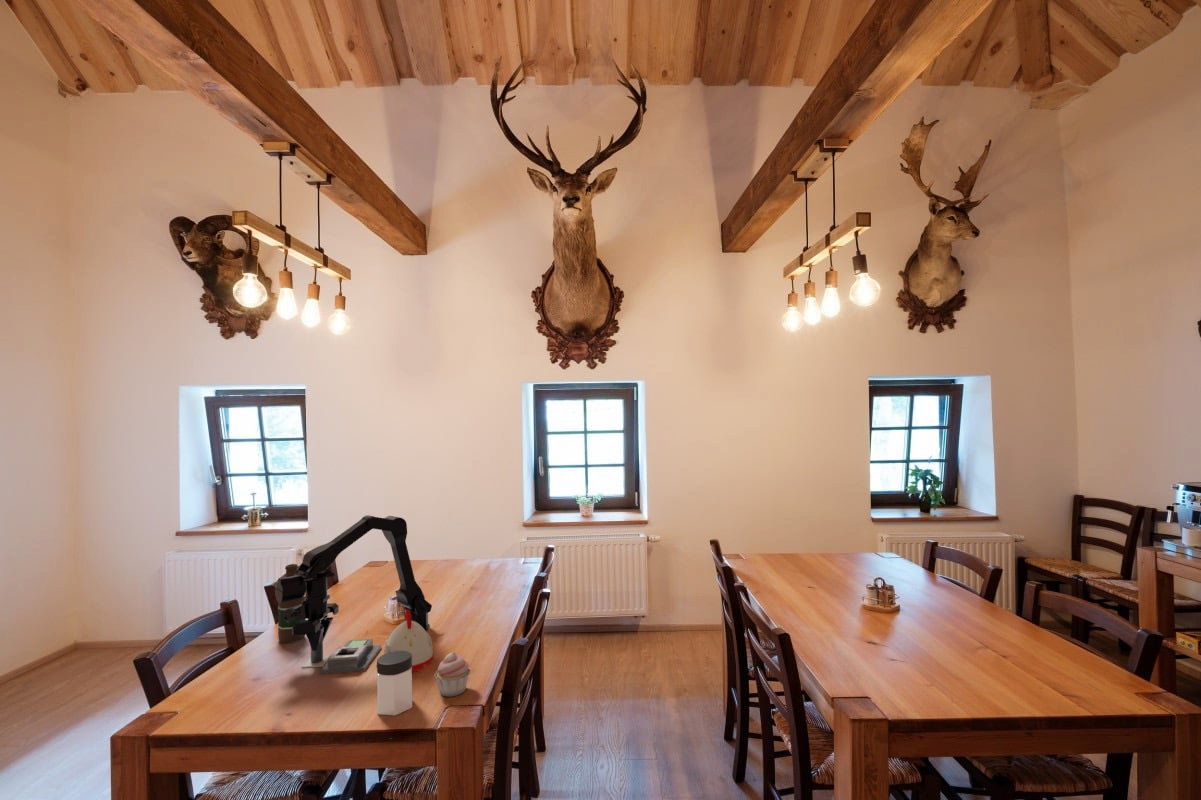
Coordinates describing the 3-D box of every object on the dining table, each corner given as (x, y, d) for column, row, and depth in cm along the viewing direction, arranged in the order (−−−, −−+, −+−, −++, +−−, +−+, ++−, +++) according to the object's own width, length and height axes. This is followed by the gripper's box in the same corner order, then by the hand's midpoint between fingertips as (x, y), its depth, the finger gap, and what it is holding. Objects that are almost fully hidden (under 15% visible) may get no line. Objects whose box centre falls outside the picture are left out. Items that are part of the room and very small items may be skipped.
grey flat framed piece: (381, 648, 172) (381, 634, 172) (364, 671, 156) (364, 655, 156) (341, 650, 171) (340, 636, 171) (320, 674, 155) (320, 658, 155)
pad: (331, 657, 166) (331, 656, 166) (323, 666, 160) (323, 665, 160) (310, 659, 165) (310, 657, 165) (301, 668, 159) (301, 666, 159)
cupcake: (472, 696, 140) (472, 656, 140) (434, 703, 137) (433, 662, 138) (470, 680, 149) (470, 642, 149) (434, 686, 146) (433, 647, 146)
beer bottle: (310, 635, 184) (310, 562, 185) (290, 644, 177) (290, 568, 178) (293, 633, 187) (292, 561, 187) (272, 642, 179) (272, 567, 180)
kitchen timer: (385, 677, 152) (384, 622, 152) (380, 659, 164) (379, 607, 165) (437, 666, 158) (436, 613, 159) (428, 649, 170) (428, 599, 171)
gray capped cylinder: (313, 657, 164) (312, 623, 164) (325, 657, 164) (325, 622, 165) (307, 663, 160) (307, 628, 161) (320, 662, 161) (320, 627, 161)
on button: (367, 646, 170) (367, 640, 170) (362, 652, 166) (362, 645, 166) (352, 647, 170) (352, 641, 170) (347, 653, 165) (347, 646, 166)
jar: (402, 694, 142) (402, 647, 142) (420, 704, 136) (419, 655, 137) (369, 709, 135) (368, 659, 135) (386, 720, 130) (385, 668, 130)
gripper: (301, 586, 172) (301, 637, 171) (272, 606, 153) (272, 663, 152) (339, 584, 173) (339, 635, 172) (314, 603, 154) (314, 660, 154)
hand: (316, 648), depth 163 cm, fingers closed on gray capped cylinder, 3 cm apart
